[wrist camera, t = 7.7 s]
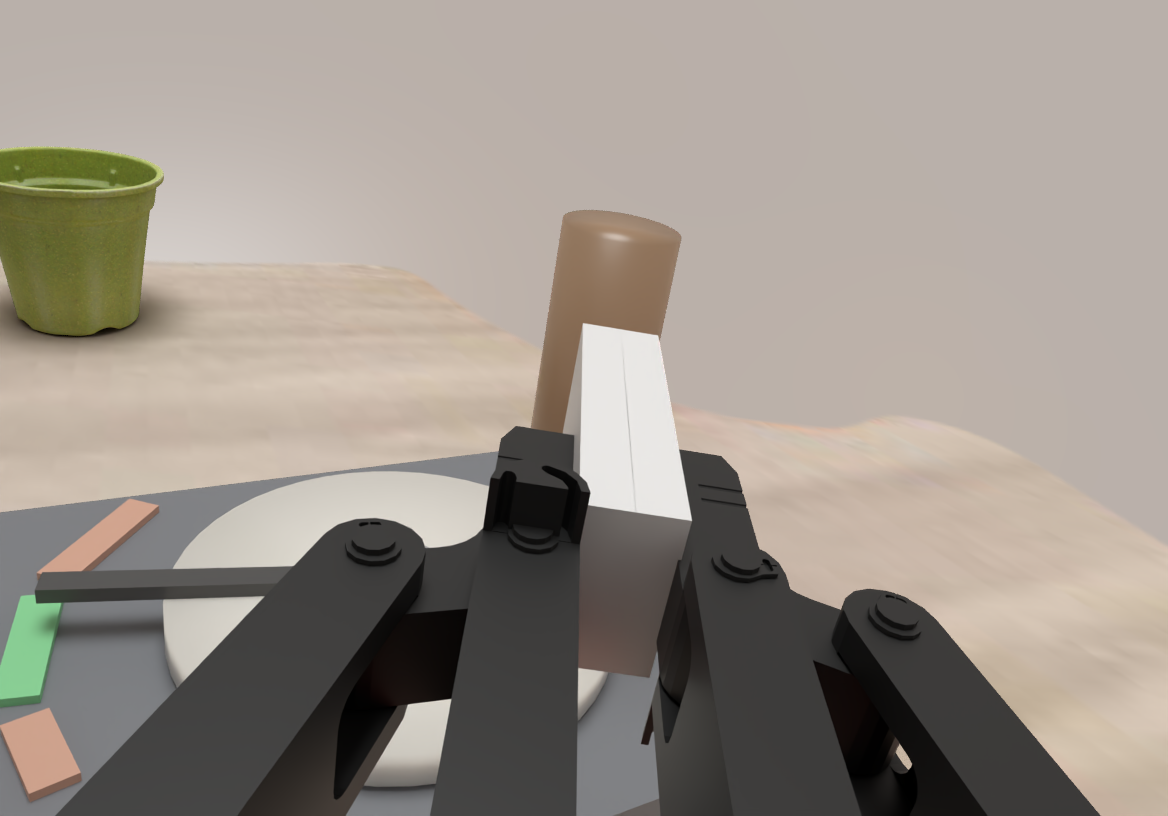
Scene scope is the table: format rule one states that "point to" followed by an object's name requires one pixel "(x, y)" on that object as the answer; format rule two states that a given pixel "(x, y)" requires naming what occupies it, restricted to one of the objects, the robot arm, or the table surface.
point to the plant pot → (75, 235)
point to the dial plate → (140, 670)
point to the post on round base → (395, 488)
